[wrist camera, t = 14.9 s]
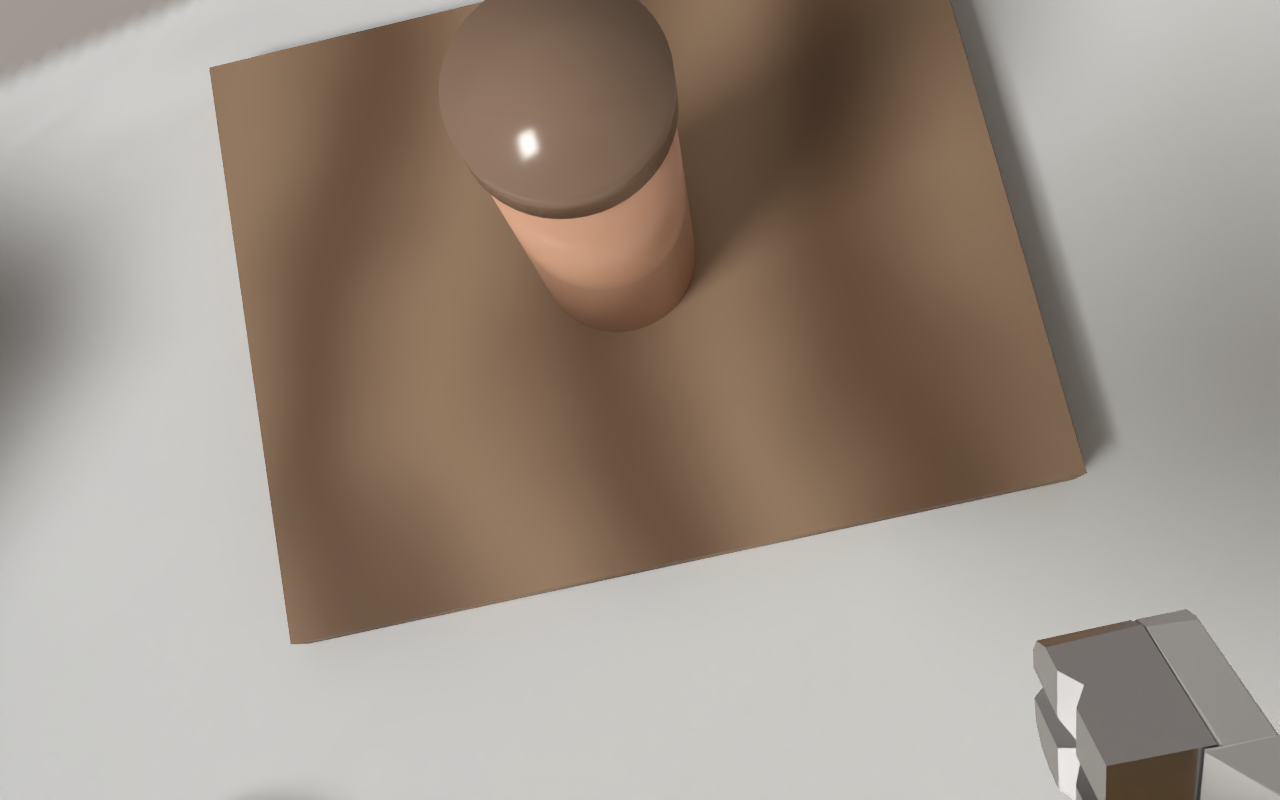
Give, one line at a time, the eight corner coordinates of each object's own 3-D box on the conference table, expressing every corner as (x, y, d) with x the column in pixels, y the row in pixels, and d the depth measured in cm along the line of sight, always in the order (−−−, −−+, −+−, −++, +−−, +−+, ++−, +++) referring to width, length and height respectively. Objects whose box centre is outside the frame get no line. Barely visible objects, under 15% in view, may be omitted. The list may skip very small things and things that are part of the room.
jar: (681, 164, 31) (647, -51, 21) (714, 316, 30) (697, 165, 20) (525, 200, 31) (420, 4, 21) (555, 351, 30) (460, 219, 20)
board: (913, -77, 33) (920, -104, 32) (1073, 479, 29) (1086, 473, 28) (228, 87, 34) (209, 67, 33) (308, 643, 30) (291, 643, 29)
